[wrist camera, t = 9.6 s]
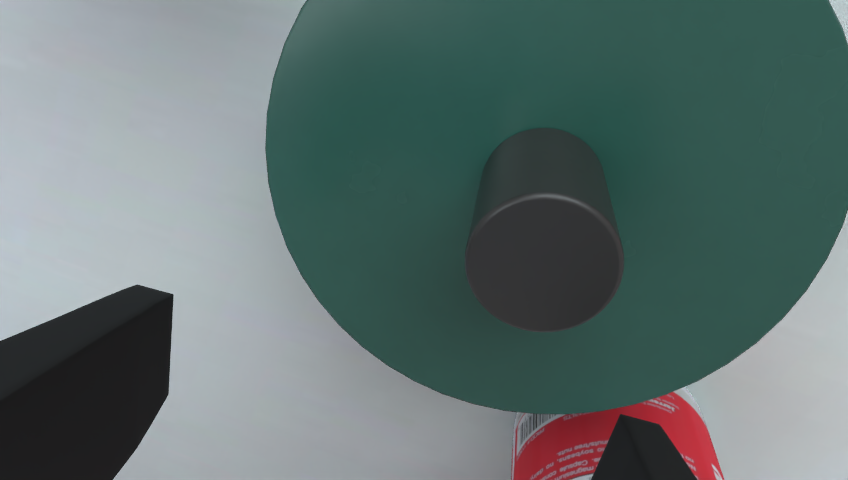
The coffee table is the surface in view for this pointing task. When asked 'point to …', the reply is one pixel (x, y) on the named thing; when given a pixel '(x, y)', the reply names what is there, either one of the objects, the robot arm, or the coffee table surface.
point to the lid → (559, 185)
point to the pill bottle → (589, 433)
